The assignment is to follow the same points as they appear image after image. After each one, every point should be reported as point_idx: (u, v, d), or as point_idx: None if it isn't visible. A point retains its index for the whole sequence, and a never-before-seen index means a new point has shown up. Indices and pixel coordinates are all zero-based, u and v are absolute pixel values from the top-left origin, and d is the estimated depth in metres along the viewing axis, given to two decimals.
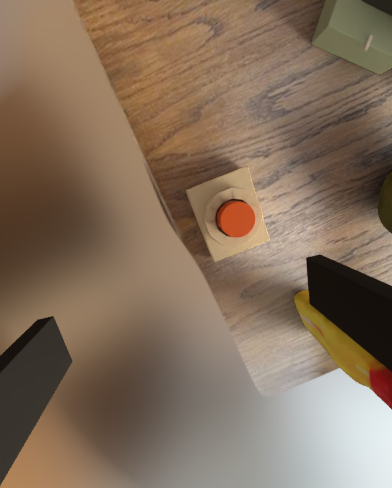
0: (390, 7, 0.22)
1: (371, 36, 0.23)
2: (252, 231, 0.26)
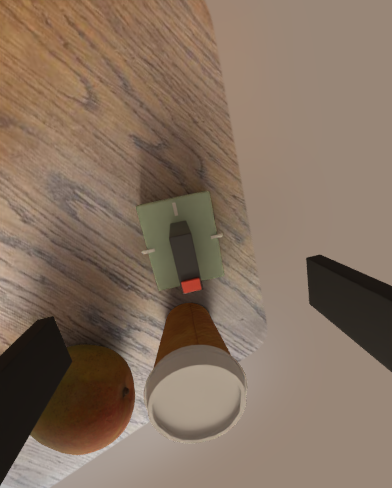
0: None
1: (154, 250, 0.24)
2: None
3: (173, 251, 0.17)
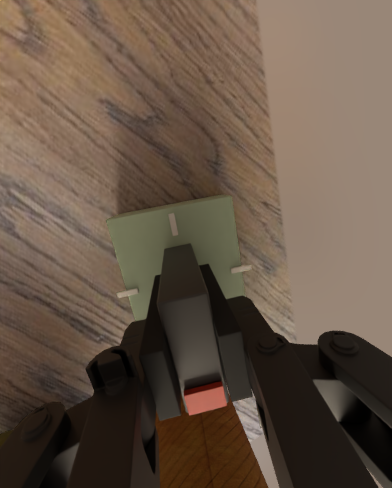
0: None
1: (138, 291, 0.15)
2: None
3: (167, 331, 0.08)
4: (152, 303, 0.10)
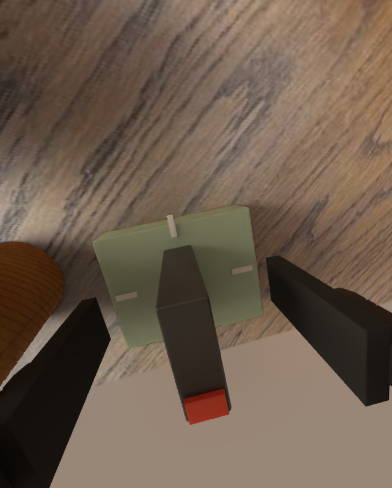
0: None
1: (173, 236, 0.14)
2: None
3: (166, 338, 0.07)
4: (50, 342, 0.08)
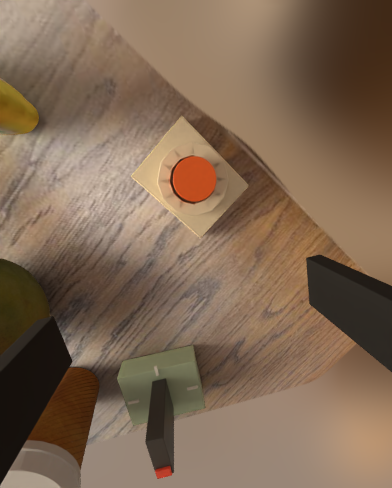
0: None
1: (157, 374, 0.28)
2: (164, 175, 0.21)
3: (149, 450, 0.21)
4: None
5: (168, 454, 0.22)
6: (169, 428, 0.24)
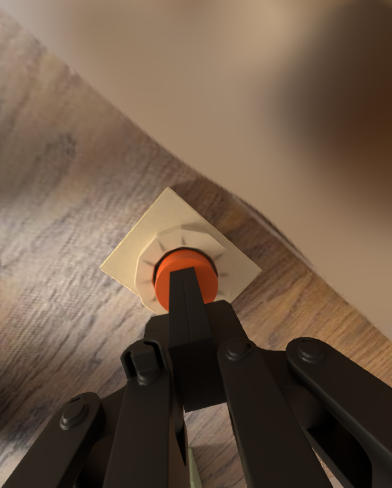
0: None
1: None
2: (143, 274, 0.15)
3: None
4: (172, 298, 0.10)
5: None
6: None
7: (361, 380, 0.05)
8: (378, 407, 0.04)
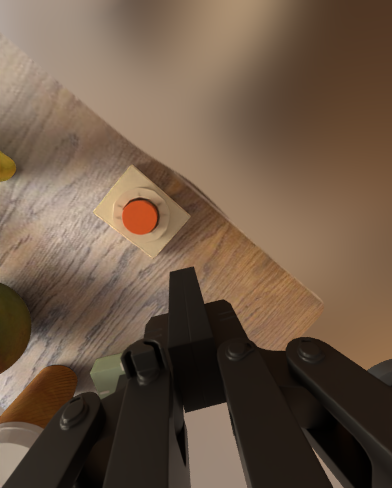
0: None
1: (123, 369, 0.34)
2: (117, 213, 0.27)
3: None
4: (172, 298, 0.10)
5: None
6: None
7: (360, 380, 0.05)
8: (378, 407, 0.04)
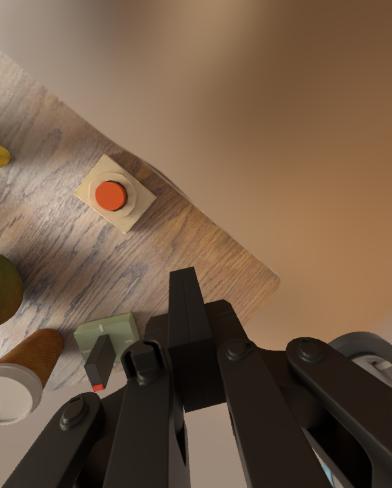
0: None
1: (102, 331, 0.39)
2: (92, 193, 0.32)
3: (86, 372, 0.33)
4: (172, 298, 0.10)
5: (100, 375, 0.33)
6: (105, 363, 0.36)
7: (360, 380, 0.05)
8: (378, 407, 0.04)
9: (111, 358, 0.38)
